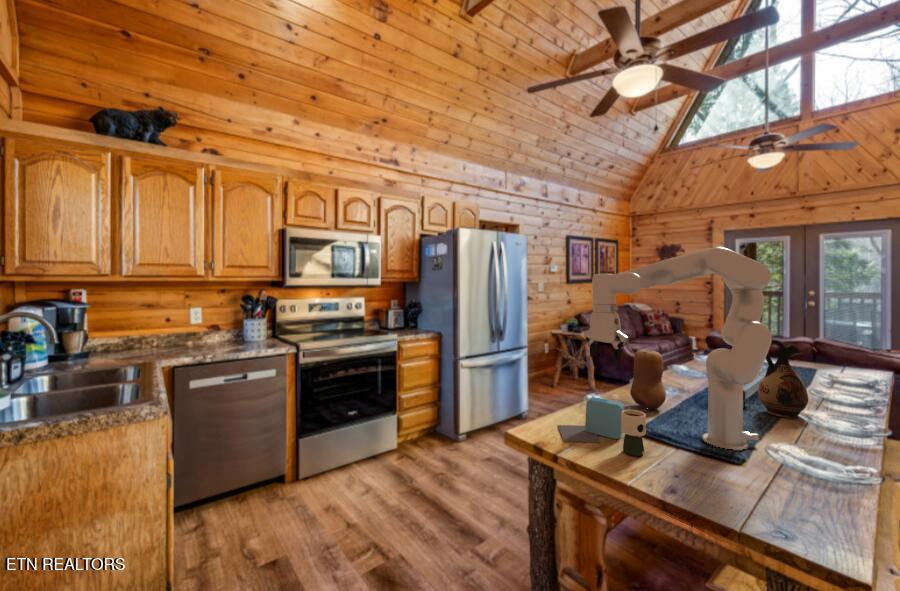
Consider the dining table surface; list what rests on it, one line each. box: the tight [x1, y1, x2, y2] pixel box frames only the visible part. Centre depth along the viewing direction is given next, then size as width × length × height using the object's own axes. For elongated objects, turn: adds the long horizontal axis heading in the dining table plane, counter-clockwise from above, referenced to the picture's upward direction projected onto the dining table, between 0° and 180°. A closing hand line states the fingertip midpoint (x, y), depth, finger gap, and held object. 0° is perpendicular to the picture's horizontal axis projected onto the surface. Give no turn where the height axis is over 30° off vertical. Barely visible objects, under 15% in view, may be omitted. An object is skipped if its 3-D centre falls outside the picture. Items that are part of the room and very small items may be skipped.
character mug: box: [621, 409, 647, 457], centre depth 127 cm, size 11×7×13 cm, turn 134°
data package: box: [584, 396, 625, 440], centre depth 142 cm, size 12×4×12 cm, turn 55°
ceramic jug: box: [757, 338, 809, 420], centre depth 160 cm, size 17×15×30 cm
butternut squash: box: [629, 348, 667, 410], centre depth 170 cm, size 14×13×25 cm
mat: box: [557, 424, 601, 444], centre depth 144 cm, size 12×15×1 cm
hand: (605, 358), depth 139 cm, fingers open, 9 cm apart
